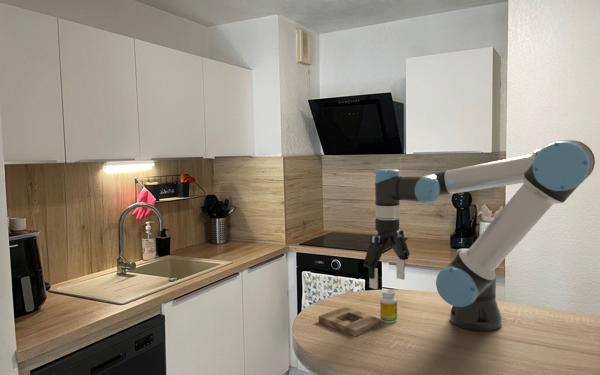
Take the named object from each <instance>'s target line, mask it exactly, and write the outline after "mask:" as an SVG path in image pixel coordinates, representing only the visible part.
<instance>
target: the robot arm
mask: <svg viewBox="0 0 600 375" xmlns="http://www.w3.org/2000/svg"><path fill="white" fill-rule="evenodd" d="M595 165H596V158H595V155H594V152H593V151H592V149H591V148H590V147H589V146H588V145H587V144H585V143H584V142H582V141H580V140H573V139H563V140H562V139H561V140H557V141H553V142H550V143H549V144H546V145H545V146H543V147H542V148H539V149H535V150H534V151H533V152H532V154H527V155H521V156H516V157H512V158H507V159H506V158H504V159H502V160H495V161H489V162H486V163H480V164H474V165H469V166H465V167H460V168H455V169H453V168H452V169H447V170H443V171H438V172H437V171H436V172H432V173H429V174H423V175H418V176H417V175H416V176H407V175H406V176H404V175H401V174H400V170H399V169H397V168H381V169H377V170H376V172H375V174H374V175H375V177H374V178H375V179H374V186H375V187H374V190H375V192H374V193H375V204H374V205H375V214H374V215H375V217H376V218H375V219H374V220H375V226H374V230H376V232H377V234H376V235H370V238H369V245H368V249H367V251H366V255H365V257H364V261H363V267H365V268H367V269H368V278H369V281H368V282H369V285H368V286H369V288H370V289H373V290H378V289H379V283H378V282H379V280H378V279H379V278H378V277H379V273H378V270H379V268H377V265H378V263H379V262H380V259H381V257H382V255H383V253H384V252H385V251H386V250H387V249H389V248H391V249H392V250H393V252H394V253H395V254H396V257H397V258H396V279H398V280H405V277H406V276H405V270H406V261H408V260H409V257H410V255H411V254H410V251H409V247H408V245H407V242H406V239H405V233H404V230H402V229H400V219H399V218H400V217H401V216H400V214H401V213H400V211H401V209H400V201H407V202H419V203H421V204H422V203H425V204H426V203H434V202H436V201H437V200H438V198H439V197H441V196H447V195H451V194H452V195H453V194H458V193H466V192H472V191H477V190H484V189H486V190H487V189H490V188H492V189H493V188H499V187H504V186H505V187H507V186H511V185H519V184H522V185H521V186H520V188H518V190H516V191H515V194H514V195H513V196H512V197H511V198H510V200H509V201H508V202H507V203H506V204H505V205H504V206H503V208H501V210H500V211H499V213H498V214H497V215H496V216H495V217H494V218H493V220H492V221H491V222H490V223H489V225H488V226H487V227H486V228H485V229H484V230H483V231H482V232H481V234H480V235H479V236H478V237H477V239H475V241H474V242H473V243H472V244H471V246H470V247H469V248H459V249H457V250H456V253H455V256H454V257H453V259H452V260H451V261H450V262H449V264H448V265H446V267H444V268H441V270H439V273H438V274H437V275H436V279H435V286H436V291H437V293H438V295H439V296H440V298H442V300H443V301H445V303H447V304H448V305H451V310H450V315H449V316H450V317H449V318H450V322H451V323H452V324H453V325H455V326H457V327H459V328H462V329H465V330H468V331H469V330H470V331H477V332H479V331H480V332H488V331H495V330H498V329H499V328H501V327H502V325H503V324H502V320H503V318H502V315H501V311H500V309H499V305H498V303H497V300H496V299H497V298H496V297H497V296H496V293H497V292H496V290H497V267H498V266H499V265H500V264H501V263H502V262H503V261H505V259H506V258H507V256H509V254H510V253H511V252H512V251H513V250H514V249H515V248H516V246H518V244H519V243H520V242H521V241H522V240H523V239H524V237H526V235H527V234H528V233H529V232H530V231H531V230H532V229H533V228H534V226H536V225H537V223H538V222H539V220H541V218H542V217H543V216H544V215H545V214H546V213H547V211H549V209H551V207H552V206H553V205H554V204H556V205H557V204H564V203H565V202H566V200H567V199H568V198H569V197H570V196H571V195H572V194H573V193H574V192H575V190H577V189H578V187H579V186H580V185H581V184H582V183H584V182H585V180H587V178H589V176H590V175H591V174H592V172H593V171H594V168H595Z"/></svg>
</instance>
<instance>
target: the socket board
mask: <svg viewBox="0 0 600 375" xmlns="http://www.w3.org/2000/svg"><path fill="white" fill-rule="evenodd" d="M348 319H350V320H352V322H348V321H345V320H348ZM353 320H354V321H353ZM318 323H321V324H322V325H326V326H327V327H329V328H333V329H335V330H338V331H339V332H343V333H345V334H347V335H350V336H352V337H355V338H356V337H358V336H360V335H364V334H365V333H368V332H369V331H372V330H374V329H377V328H379V327H381V326H382V321H381V318H378V317H376V316H373V315H370V314H369V313H368V314H367V313H365V312H361V311H358V310H355V309H353V308H350V307H347V306H341V307H339V308H337V309H334V310H331V311H329V312H325V313H322V314H321V315H318Z"/></svg>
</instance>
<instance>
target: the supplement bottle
mask: <svg viewBox="0 0 600 375" xmlns="http://www.w3.org/2000/svg"><path fill="white" fill-rule="evenodd" d="M381 293H382V294H381V295H382V296H381V297H380V299H379V303H380V305H379V306H380V309H379V310H380V311H379V312H380V316H379V317H380V318H379V319H381V322H382V323H386V324H394V323H396V322H397V321H398V299H397V297H395V296H396V292H395V290H393V289H383V290H382V292H381Z"/></svg>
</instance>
